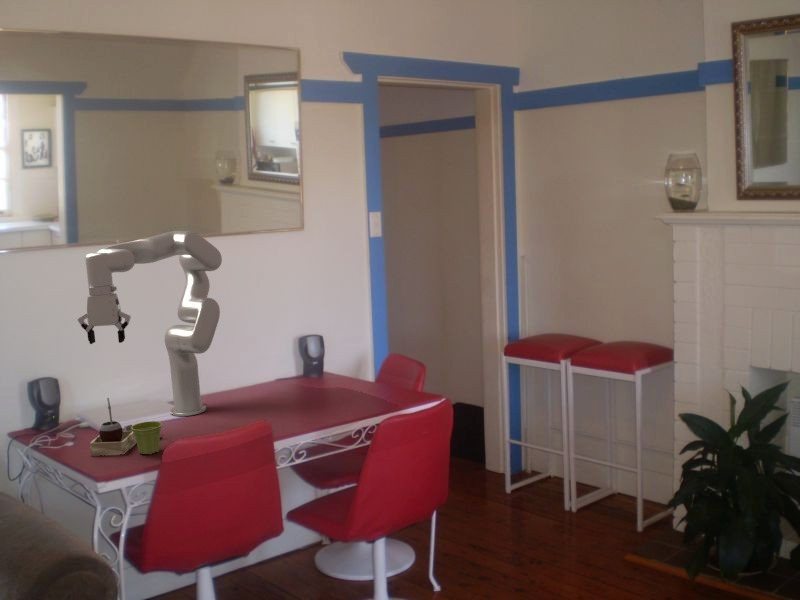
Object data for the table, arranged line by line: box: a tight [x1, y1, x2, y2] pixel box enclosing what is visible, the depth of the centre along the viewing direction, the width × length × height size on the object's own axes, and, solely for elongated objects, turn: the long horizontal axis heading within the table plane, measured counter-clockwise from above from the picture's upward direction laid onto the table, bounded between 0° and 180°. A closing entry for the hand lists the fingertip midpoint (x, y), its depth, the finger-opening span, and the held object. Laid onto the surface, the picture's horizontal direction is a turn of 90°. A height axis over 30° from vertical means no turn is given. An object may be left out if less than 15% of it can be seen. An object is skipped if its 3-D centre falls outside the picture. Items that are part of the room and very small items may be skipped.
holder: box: [89, 430, 137, 457], centre depth 300 cm, size 12×11×4 cm
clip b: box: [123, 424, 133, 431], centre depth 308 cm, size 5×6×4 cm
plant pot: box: [131, 420, 163, 455], centre depth 295 cm, size 9×9×9 cm
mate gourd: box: [98, 397, 124, 442], centre depth 299 cm, size 8×8×15 cm
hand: (107, 342), depth 307 cm, fingers open, 9 cm apart
